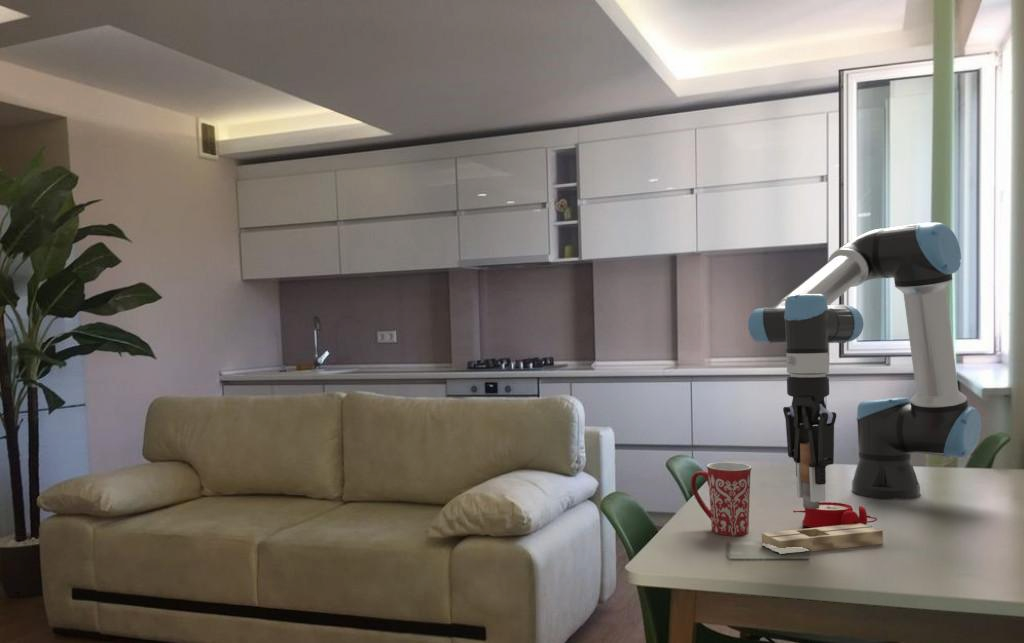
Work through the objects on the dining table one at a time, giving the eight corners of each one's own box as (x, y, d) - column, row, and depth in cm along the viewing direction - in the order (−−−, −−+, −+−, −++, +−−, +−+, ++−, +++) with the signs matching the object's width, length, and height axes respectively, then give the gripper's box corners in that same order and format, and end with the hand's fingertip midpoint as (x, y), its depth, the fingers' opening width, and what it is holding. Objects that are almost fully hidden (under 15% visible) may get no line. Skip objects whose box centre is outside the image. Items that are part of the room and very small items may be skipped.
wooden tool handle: (813, 504, 149) (811, 442, 149) (824, 508, 145) (822, 444, 146) (797, 506, 148) (796, 443, 148) (809, 509, 145) (807, 445, 145)
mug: (760, 529, 160) (758, 464, 160) (744, 539, 152) (741, 471, 153) (702, 521, 167) (700, 459, 167) (684, 530, 160) (682, 465, 160)
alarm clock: (809, 501, 168) (878, 491, 158) (817, 530, 166) (887, 522, 156) (787, 509, 160) (857, 498, 150) (795, 539, 159) (867, 531, 149)
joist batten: (861, 535, 153) (861, 522, 153) (883, 543, 147) (882, 530, 147) (762, 546, 147) (761, 532, 147) (780, 554, 142) (779, 540, 142)
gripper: (766, 374, 154) (769, 491, 154) (816, 378, 138) (820, 509, 138) (799, 372, 156) (802, 489, 156) (853, 376, 140) (857, 506, 140)
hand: (811, 498), depth 147 cm, fingers closed on wooden tool handle, 3 cm apart
